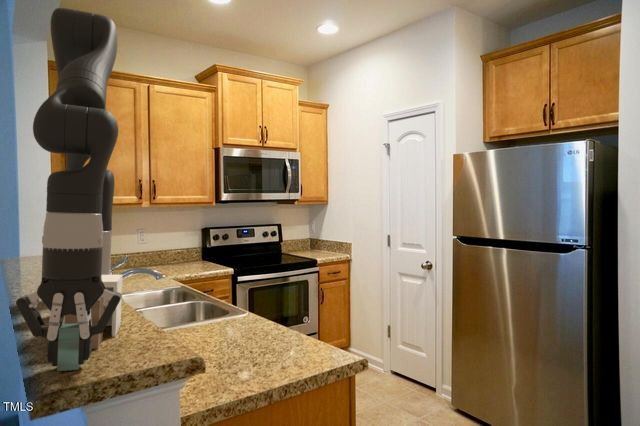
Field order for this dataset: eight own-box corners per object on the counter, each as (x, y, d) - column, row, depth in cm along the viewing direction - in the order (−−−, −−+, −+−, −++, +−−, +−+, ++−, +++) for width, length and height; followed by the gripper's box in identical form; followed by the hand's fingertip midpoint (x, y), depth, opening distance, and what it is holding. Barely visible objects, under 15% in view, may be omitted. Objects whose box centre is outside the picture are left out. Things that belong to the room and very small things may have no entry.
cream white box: (71, 326, 84) (73, 275, 84) (120, 324, 87) (122, 274, 87) (60, 339, 76) (62, 282, 76) (115, 336, 79) (117, 281, 79)
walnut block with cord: (70, 342, 74) (72, 295, 75) (102, 340, 76) (104, 294, 76) (47, 371, 60) (49, 314, 61) (87, 368, 62) (89, 313, 62)
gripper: (128, 242, 68) (124, 352, 68) (25, 241, 64) (21, 358, 64) (123, 246, 61) (119, 368, 61) (7, 246, 57) (2, 377, 57)
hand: (69, 363), depth 62 cm, fingers closed on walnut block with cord, 2 cm apart
